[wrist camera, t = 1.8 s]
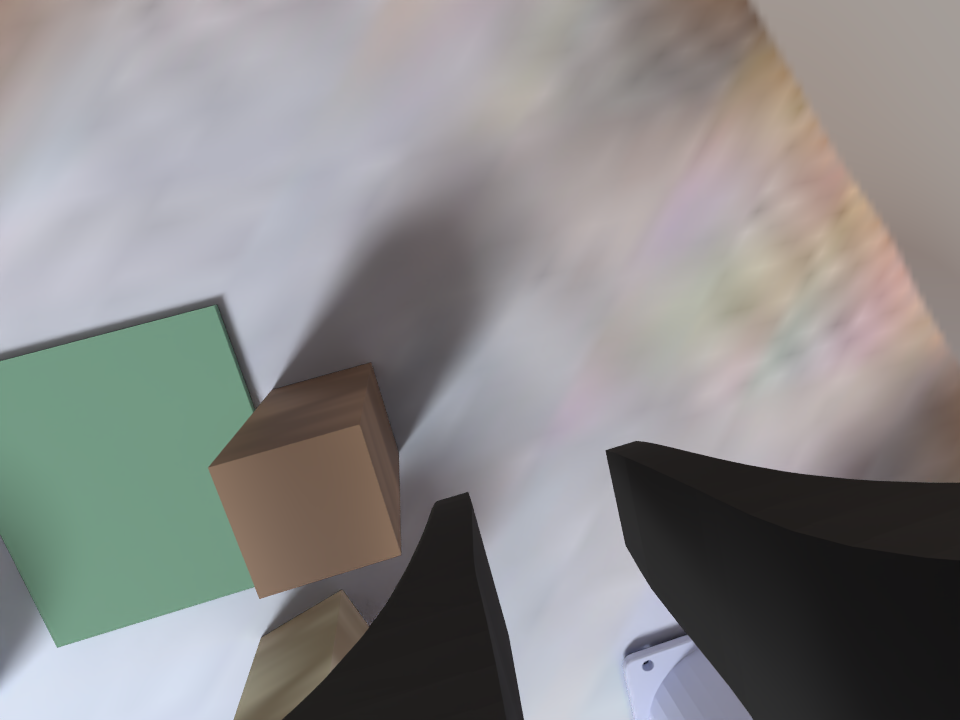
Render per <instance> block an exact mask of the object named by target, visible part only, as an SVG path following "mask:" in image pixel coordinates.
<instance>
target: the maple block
mask: <svg viewBox="0 0 960 720" xmlns="http://www.w3.org/2000/svg"><path fill="white" fill-rule="evenodd" d="M368 628H369V626H368V624H367V623H366V622H365V620H364V619H363V617H362V616H361V615H360V613H359V612H358V611H357V609H356V608H355V607H354V605H353V604H352V602H351V601H350V600H349V598H348V597H347V596H346V594H345V593H344V592H343V590H340V591H339V592H337V593H335V594H334V595H332V596H330V597H329V598H327V599H325V600H324V601H322V602H320V603H319V604H317V605H315V606H314V607H312V608H310V609H308V610H307V611H305V612H303V613H302V614H300V615H298V616H297V617H295V618H293V619H292V620H290V621H288V622H287V623H285V624H283V625H281V626H280V627H278V628H276V629H275V630H273V631H271V632H270V633H268V634H266V635H265V636H263V637H261V639H260V642H259V645H258V648H257V651H256V654H255V657H254V660H253V663H252V666H251V669H250V672H249V675H248V678H247V681H246V684H245V687H244V690H243V693H242V696H241V699H240V702H239V705H238V708H237V711H236V714H235V717H234V720H282V719H283V718H284V717H285V716H286V715H287V714H288V713H290V712H291V711H292V710H293V709H294V708H295V707H296V706H297V705H298V704H299V703H300V702H302V701H303V700H304V699H305V698H306V697H307V696H308V695H309V694H310V693H311V692H312V691H313V690H314V689H315V688H316V687H317V686H318V685H319V684H320V683H321V682H322V681H323V680H324V679H325V678H326V677H327V676H328V674H329V673H330V672H331V671H332V670H333V669H334V668H335V667H336V665H337V664H338V663H339V662H340V661H341V660H342V659H343V658H344V656H345V655H346V654H347V653H348V652H349V651H350V650H351V649H352V647H353V646H354V645H355V644H356V643H357V642H358V641H359V640H360V638H361V637H362V636H363V635H364V633H365V632H366V631H367V630H368Z"/></svg>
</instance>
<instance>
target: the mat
mask: <svg viewBox="0 0 960 720" xmlns="http://www.w3.org/2000/svg"><path fill="white" fill-rule="evenodd" d="M254 411H255V408H254V406H253V403H252V400H251V397H250V395H249V392H248V389H247V386H246V384H245V381H244V378H243V375H242V373H241V370H240V367H239V364H238V362H237V359H236V356H235V353H234V350H233V348H232V345H231V342H230V339H229V337H228V334H227V331H226V328H225V326H224V323H223V320H222V317H221V315H220V312H219V309H218V306H217V305H213V306H209V307H206V308H202V309H198V310H194V311H190V312H186V313H183V314H179V315H175V316H171V317H167V318H163V319H160V320H156V321H152V322H148V323H144V324H140V325H137V326H133V327H129V328H125V329H121V330H117V331H114V332H110V333H106V334H102V335H98V336H94V337H91V338H87V339H83V340H79V341H75V342H71V343H67V344H64V345H60V346H56V347H52V348H48V349H44V350H41V351H37V352H33V353H29V354H25V355H21V356H18V357H14V358H10V359H6V360H2V361H0V535H1V537H2V539H3V541H4V543H5V545H6V547H7V549H8V551H9V553H10V555H11V557H12V559H13V561H14V563H15V565H16V567H17V569H18V571H19V573H20V575H21V577H22V579H23V581H24V583H25V585H26V587H27V589H28V591H29V593H30V595H31V597H32V599H33V601H34V603H35V605H36V607H37V609H38V611H39V613H40V615H41V617H42V619H43V621H44V623H45V625H46V627H47V629H48V630H49V632H50V634H51V636H52V638H53V640H54V642H55V644H56V646H57V648H58V647H61V646H64V645H68V644H71V643H74V642H77V641H81V640H84V639H87V638H90V637H94V636H97V635H100V634H103V633H107V632H110V631H113V630H116V629H120V628H123V627H126V626H129V625H133V624H136V623H139V622H142V621H146V620H149V619H152V618H155V617H159V616H162V615H165V614H168V613H172V612H175V611H178V610H181V609H185V608H188V607H191V606H194V605H198V604H201V603H204V602H207V601H211V600H214V599H217V598H220V597H224V596H227V595H230V594H233V593H237V592H240V591H243V590H246V589H250V588H253V587H255V586H254V584H253V581H252V579H251V576H250V574H249V571H248V568H247V566H246V563H245V561H244V558H243V556H242V553H241V551H240V548H239V546H238V543H237V541H236V538H235V535H234V533H233V530H232V528H231V525H230V523H229V520H228V518H227V515H226V513H225V510H224V508H223V505H222V502H221V500H220V497H219V495H218V492H217V490H216V487H215V485H214V482H213V480H212V477H211V475H210V472H209V469H208V467H209V466H210V465H211V463H212V462H213V461H214V460H215V458H216V457H217V456H218V455H219V454H220V452H221V451H222V450H223V449H224V447H225V446H226V445H227V444H228V443H229V441H230V440H231V439H232V438H233V437H234V435H235V434H236V433H237V432H238V430H239V429H240V428H241V427H242V426H243V424H244V423H245V422H246V421H247V420H248V418H249V417H250V416H251V415H252V413H253V412H254Z"/></svg>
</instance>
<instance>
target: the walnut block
mask: <svg viewBox="0 0 960 720" xmlns="http://www.w3.org/2000/svg"><path fill="white" fill-rule="evenodd" d="M208 469H209V472H210V475H211V477H212V480H213V482H214V485H215V487H216V490H217V492H218V495H219V497H220V500H221V502H222V505H223V508H224V510H225V513H226V515H227V518H228V520H229V523H230V525H231V528H232V530H233V533H234V535H235V538H236V541H237V543H238V546H239V548H240V551H241V553H242V556H243V558H244V561H245V563H246V566H247V568H248V571H249V574H250V576H251V579H252V581H253V584H254V586H255V589H256V591H257V594H258V596H259V599H261V598H264V597H267V596H271V595H274V594H277V593H280V592H283V591H287V590H290V589H293V588H296V587H300V586H303V585H306V584H309V583H313V582H316V581H319V580H322V579H326V578H329V577H332V576H335V575H338V574H342V573H345V572H348V571H351V570H355V569H358V568H361V567H364V566H368V565H371V564H374V563H377V562H381V561H384V560H387V559H390V558H394V557H397V556H400V555H401V521H400V481H399V452H398V449H397V445H396V442H395V439H394V435H393V432H392V429H391V426H390V422H389V419H388V416H387V412H386V409H385V406H384V403H383V399H382V396H381V393H380V390H379V386H378V383H377V380H376V376H375V373H374V370H373V367H372V363H367V364H363V365H360V366H356V367H353V368H349V369H345V370H342V371H338V372H334V373H331V374H327V375H324V376H320V377H316V378H313V379H309V380H305V381H302V382H298V383H295V384H291V385H287V386H284V387H280V388H277V389H273V390H271V392H270V393H269V394H268V395H267V396H266V398H265V399H264V400H263V401H262V403H261V404H260V405H259V406H258V407H257V409H256V410H255V411H254V412H253V413H252V415H251V416H250V417H249V418H248V420H247V421H246V422H245V423H244V424H243V426H242V427H241V428H240V429H239V430H238V432H237V433H236V434H235V435H234V437H233V438H232V439H231V440H230V441H229V443H228V444H227V445H226V446H225V447H224V449H223V450H222V451H221V452H220V454H219V455H218V456H217V457H216V458H215V460H214V461H213V462H212V463H211V465H210V466H209V467H208Z"/></svg>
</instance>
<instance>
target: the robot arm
mask: <svg viewBox="0 0 960 720" xmlns="http://www.w3.org/2000/svg"><path fill="white" fill-rule="evenodd" d="M606 455H607V460H608V465H609V469H610V474H611V479H612V483H613V488H614V493H615V498H616V502H617V507H618V512H619V516H620V521H621V526H622V531H623V535H624V540H625V545H626V547H627V549H628V550H629V552H630V554H631V555H632V557H633V559H634V561H635V562H636V564H637V566H638V568H639V569H640V571H641V573H642V574H643V576H644V577H645V579H646V581H647V582H648V584H649V586H650V587H651V589H652V590H653V591H654V593H655V594H656V595H657V597H658V598H659V599H660V600H661V602H662V603H663V604H664V606H665V607H666V608H667V609H668V611H669V612H670V613H671V614H672V616H673V617H674V618H675V619H676V621H677V622H678V623H679V625H680V626H681V627H682V628H683V630H684V631H685V632H686V633H687V635H685V636H682V637H679V638H676V639H673V640H670V641H667V642H664V643H662V644H659V645H656V646H653V647H650V648H647V649H644V650H641V651H638V652H635V653H632V654H630V655H628V656H627V657H626V658H625V659H624V660H623V663H622V668H623V673H624V677H625V682H626V686H627V690H628V695H629V699H630V704H631V708H632V713H633V717H634V720H960V483H921V482H891V481H870V480H854V479H843V478H834V477H824V476H815V475H805V474H798V473H791V472H784V471H778V470H773V469H767V468H762V467H756V466H751V465H745V464H741V463H736V462H731V461H726V460H722V459H717V458H713V457H709V456H705V455H700V454H696V453H692V452H688V451H684V450H680V449H675V448H671V447H667V446H663V445H658V444H653V443H648V442H641V441H635V442H631V443H628V444H625V445H622V446H618V447H615V448H612V449H608V450H606ZM647 660H649V662H648V663H646V664H643V663H644V662H645V661H647ZM282 720H524V718H523V712H522V707H521V701H520V696H519V690H518V684H517V679H516V673H515V668H514V662H513V657H512V651H511V645H510V640H509V635H508V631H507V628H506V624H505V620H504V617H503V613H502V610H501V606H500V603H499V599H498V595H497V592H496V588H495V585H494V581H493V577H492V574H491V570H490V567H489V563H488V559H487V556H486V552H485V549H484V545H483V542H482V538H481V534H480V531H479V527H478V524H477V520H476V516H475V513H474V509H473V506H472V502H471V499H470V496H469V493H468V492H466V493H463V494H460V495H456V496H453V497H450V498H446V499H443V500H440V501H437V502H436V503H435V504H434V506H433V508H432V510H431V513H430V516H429V519H428V522H427V524H426V527H425V530H424V532H423V534H422V537H421V539H420V541H419V544H418V546H417V548H416V550H415V552H414V554H413V556H412V559H411V561H410V563H409V565H408V567H407V569H406V570H405V572H404V574H403V576H402V578H401V579H400V581H399V583H398V585H397V586H396V588H395V590H394V592H393V594H392V595H391V597H390V599H389V600H388V602H387V603H386V605H385V606H384V608H383V609H382V611H381V612H380V613H379V615H378V616H377V617H376V619H375V620H374V622H373V623H372V624H371V626H370V627H369V628H368V630H367V631H366V632H365V633H364V635H363V636H362V637H361V638H360V640H359V641H358V642H357V643H356V644H355V645H354V646H353V647H352V649H351V650H350V651H349V652H348V653H347V654H346V655H345V656H344V658H343V659H342V660H341V661H340V662H339V663H338V664H337V665H336V667H335V668H334V669H333V670H332V671H331V672H330V673H329V674H328V676H327V677H326V678H325V679H324V680H323V681H322V682H321V683H320V684H319V685H318V686H317V687H316V688H315V689H314V690H313V691H312V692H311V693H310V694H309V695H308V696H307V697H306V698H305V699H304V700H303V701H302V702H300V703H299V704H298V705H297V706H296V707H295V708H294V709H293V710H292V711H291V712H290V713H288V714H287V715H286V716H285V717H284V718H283V719H282Z"/></svg>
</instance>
